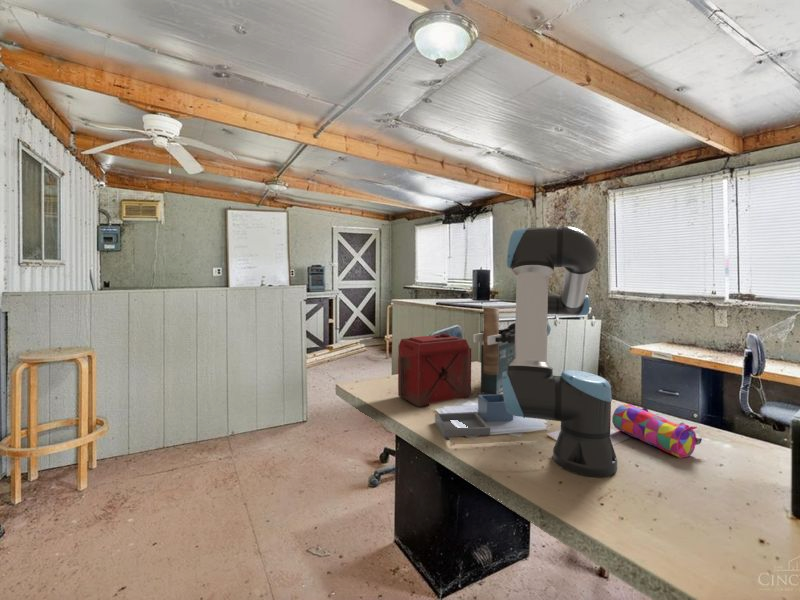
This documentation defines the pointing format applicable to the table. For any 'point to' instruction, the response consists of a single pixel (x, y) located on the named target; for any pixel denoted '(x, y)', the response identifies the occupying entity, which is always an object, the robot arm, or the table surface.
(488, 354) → the dowel
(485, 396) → the open box
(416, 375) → the jerry can
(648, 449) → the table surface
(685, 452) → the pencil case
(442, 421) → the tray
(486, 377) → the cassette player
